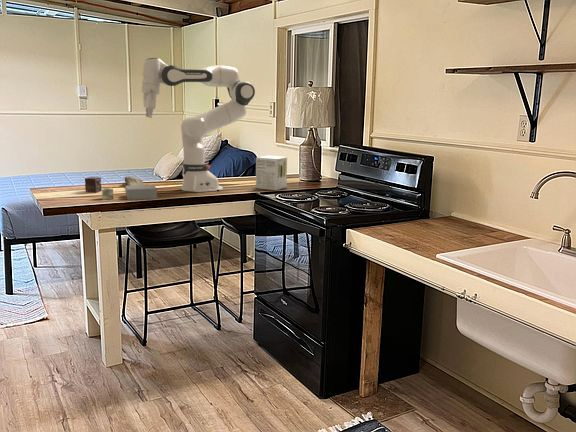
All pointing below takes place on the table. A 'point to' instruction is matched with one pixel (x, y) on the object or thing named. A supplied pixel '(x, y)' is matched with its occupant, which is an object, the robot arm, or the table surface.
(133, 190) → the block
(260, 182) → the supplement box
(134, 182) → the elongated rock
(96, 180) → the box
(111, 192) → the sage block
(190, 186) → the robot arm
